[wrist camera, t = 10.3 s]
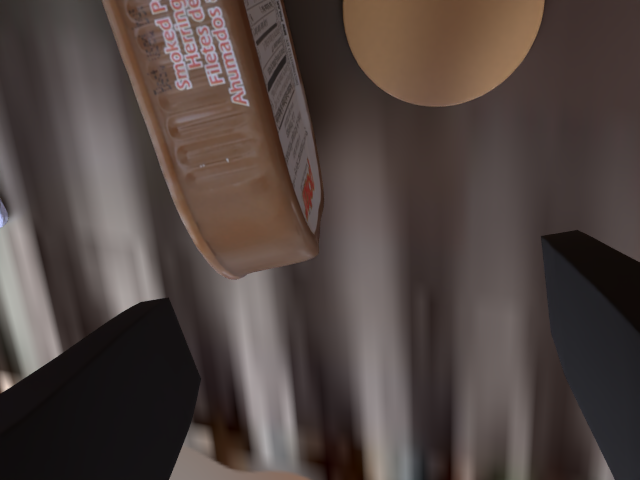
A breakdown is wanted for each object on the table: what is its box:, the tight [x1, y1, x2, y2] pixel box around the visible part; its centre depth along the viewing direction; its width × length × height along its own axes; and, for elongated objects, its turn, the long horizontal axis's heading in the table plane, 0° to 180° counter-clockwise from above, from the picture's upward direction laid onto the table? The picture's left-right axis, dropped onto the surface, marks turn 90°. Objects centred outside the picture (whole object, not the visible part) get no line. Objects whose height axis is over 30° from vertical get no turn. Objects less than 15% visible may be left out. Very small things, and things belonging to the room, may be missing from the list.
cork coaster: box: [343, 0, 545, 107], centre depth 19 cm, size 6×6×1 cm
